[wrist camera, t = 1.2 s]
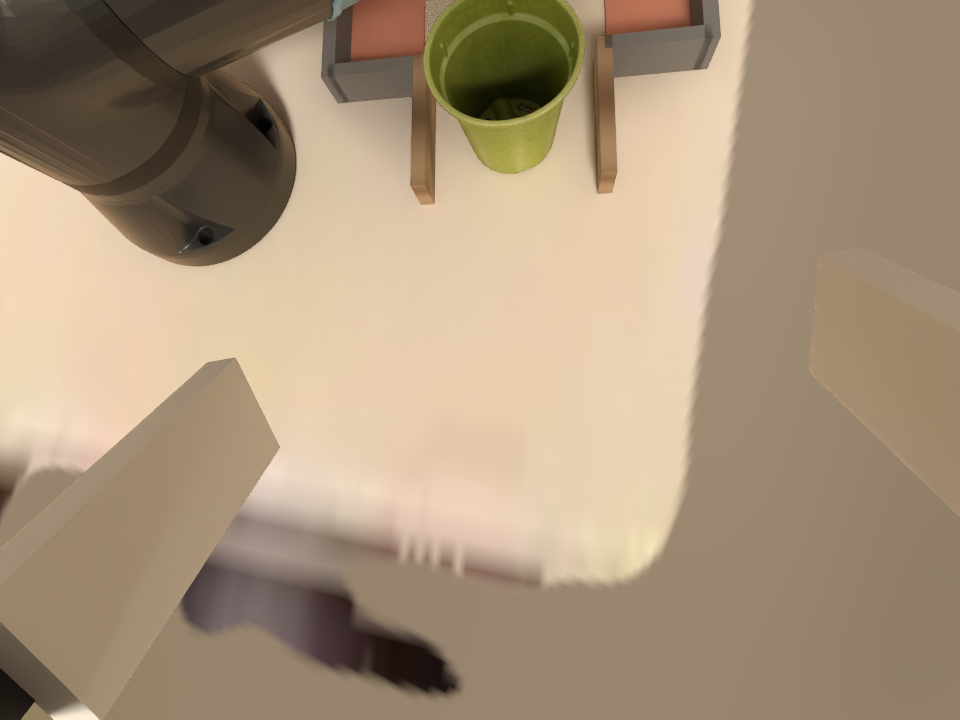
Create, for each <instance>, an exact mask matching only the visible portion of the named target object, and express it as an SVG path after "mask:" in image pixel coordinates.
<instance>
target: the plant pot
mask: <svg viewBox="0 0 960 720" xmlns="http://www.w3.org/2000/svg"><path fill="white" fill-rule="evenodd" d="M584 50H585V39H584V34H583V29H582V26H581V23H580V20H579V18H578V16H577V14H576V13H575V11H574V10H573V9H572V7H571V6H570V5H569V3H568V2H566V1H565V0H455V1H454V2H452V3H451V4H450V5H449V6H448V7H447V8H446V9H445V10H444V11H443V12H442V13H441V14H440V16H439V17H438V18H437V19H436V21H435V23H434V24H433V26H432V28H431V30H430V32H429V35H428V37H427V40H426V44H425V49H424V58H423V64H424V72H425V77H426V80H427V83H428V86H429V88H430V90H431V92H432V94H433V96H434V97H435V99H436V100H437V102H438V103H439V104H440V105H441V106H442V107H443V108H444V109H445V110H446V111H447V112H448V113H449V114H451V115H452V116H454V117H455V118H456V119H457V120H458V122H459V123H460V125H461V127H462V129H463V131H464V133H465V134H466V136H467V138H468V140H469V142H470V144H471V146H472V148H473V150H474V152H475V153H476V155H477V157H478V158H479V160H480V161H481V162H482V163H483V164H484V165H485V166H487V167H488V168H490V169H492V170H494V171H496V172H500V173H505V174H515V173H518V172H521V171H523V170H526V169H528V168H531V167H534V166H536V165H537V164H539V163H540V162H541V161H542V160H543V159H544V158H545V157H546V155H547V154H548V152H549V151H550V149H551V146H552V143H553V140H554V136H555V132H556V127H557V123H558V119H559V115H560V111H561V107H562V104H563V100H564V98H565V96H566V95H567V94H568V93H569V91H570V90H571V88H572V87H573V85H574V84H575V82H576V80H577V78H578V75H579V73H580V70H581V67H582V63H583V58H584ZM519 105H524V106H527V107H530V108H531V109H533V110H534V112H533V113H529V112H527V111H525V110H521V109H518V108H517V106H519ZM486 119H490V120H486Z"/></svg>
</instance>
